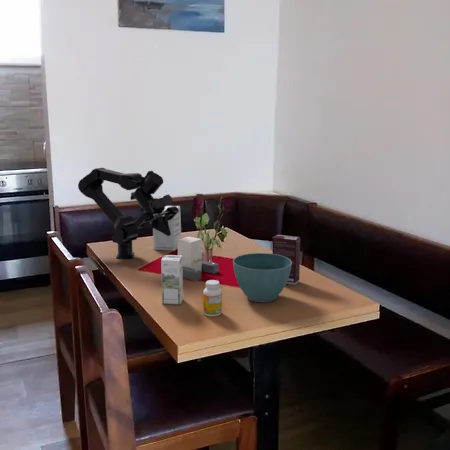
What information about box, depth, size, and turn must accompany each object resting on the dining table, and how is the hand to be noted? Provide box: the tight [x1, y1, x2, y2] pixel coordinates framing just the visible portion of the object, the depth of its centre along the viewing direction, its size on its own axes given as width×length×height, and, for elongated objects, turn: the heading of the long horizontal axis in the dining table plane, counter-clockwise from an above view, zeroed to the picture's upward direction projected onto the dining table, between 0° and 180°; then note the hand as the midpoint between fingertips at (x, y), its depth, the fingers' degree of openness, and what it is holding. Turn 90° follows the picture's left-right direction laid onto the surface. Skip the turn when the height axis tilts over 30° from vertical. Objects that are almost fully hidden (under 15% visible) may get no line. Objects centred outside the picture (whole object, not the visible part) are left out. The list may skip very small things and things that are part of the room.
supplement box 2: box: [272, 234, 301, 286], centre depth 197 cm, size 9×5×16 cm, turn 65°
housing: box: [183, 260, 220, 282], centre depth 206 cm, size 10×13×3 cm
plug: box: [177, 236, 203, 272], centre depth 207 cm, size 7×6×12 cm
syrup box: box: [160, 254, 184, 306], centre depth 178 cm, size 6×6×14 cm
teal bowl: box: [232, 252, 292, 303], centre depth 182 cm, size 18×18×12 cm
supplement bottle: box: [202, 279, 223, 317], centre depth 170 cm, size 5×5×10 cm
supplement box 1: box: [152, 205, 182, 252], centre depth 238 cm, size 10×9×17 cm
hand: (169, 235), depth 211 cm, fingers closed
